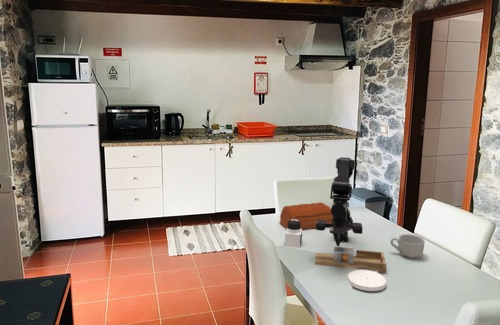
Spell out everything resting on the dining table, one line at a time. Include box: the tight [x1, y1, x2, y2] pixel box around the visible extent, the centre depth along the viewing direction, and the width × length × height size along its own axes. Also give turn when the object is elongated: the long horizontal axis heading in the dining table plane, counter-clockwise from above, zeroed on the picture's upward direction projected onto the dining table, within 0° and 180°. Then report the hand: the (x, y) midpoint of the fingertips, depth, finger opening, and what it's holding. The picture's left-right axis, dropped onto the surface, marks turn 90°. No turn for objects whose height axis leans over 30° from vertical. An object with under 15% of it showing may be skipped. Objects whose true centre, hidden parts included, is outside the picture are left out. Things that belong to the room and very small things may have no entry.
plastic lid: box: [347, 269, 387, 292], centre depth 158 cm, size 14×14×2 cm
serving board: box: [314, 249, 387, 275], centre depth 174 cm, size 12×28×4 cm, turn 78°
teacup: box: [390, 233, 426, 259], centre depth 183 cm, size 14×11×8 cm
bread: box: [279, 202, 332, 231], centre depth 220 cm, size 16×27×11 cm, turn 109°
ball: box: [341, 253, 349, 260], centre depth 174 cm, size 3×3×3 cm
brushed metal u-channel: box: [333, 246, 355, 264], centre depth 174 cm, size 5×5×8 cm
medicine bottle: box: [284, 220, 303, 248], centre depth 191 cm, size 7×7×12 cm
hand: (337, 245), depth 174 cm, fingers closed
